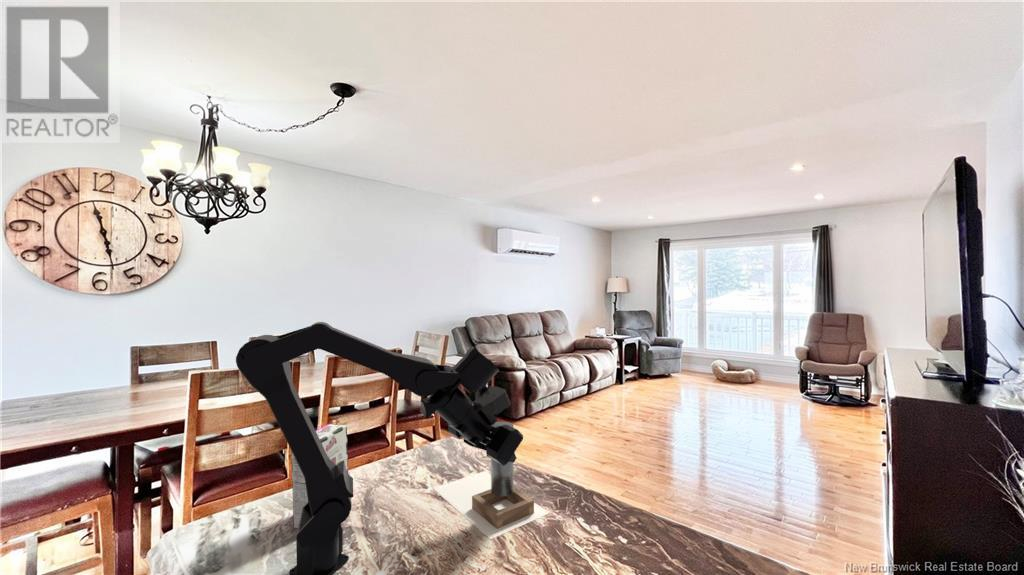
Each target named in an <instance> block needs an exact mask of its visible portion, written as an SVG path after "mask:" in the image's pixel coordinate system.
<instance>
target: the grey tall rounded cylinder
mask: <svg viewBox="0 0 1024 575" xmlns="http://www.w3.org/2000/svg"><path fill="white" fill-rule="evenodd" d="M502 425H509V426H511V427H513V428H514V424H513V423H511V422H509V421H496V422H495V424H494V425H493V424H492V425H491V426H493V427H495V428H497V427H498V426H502ZM491 433H492V432H491ZM493 434H494V433H493ZM490 474H491V493H492V494H494V495H496V496H508V495H510V494H512V493H513V487H514V462H508V463H507V464H506V465H504V466H503V465H501V464H499V463H498V462H496V461H494V460H493V459H491V458H490Z"/></svg>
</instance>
